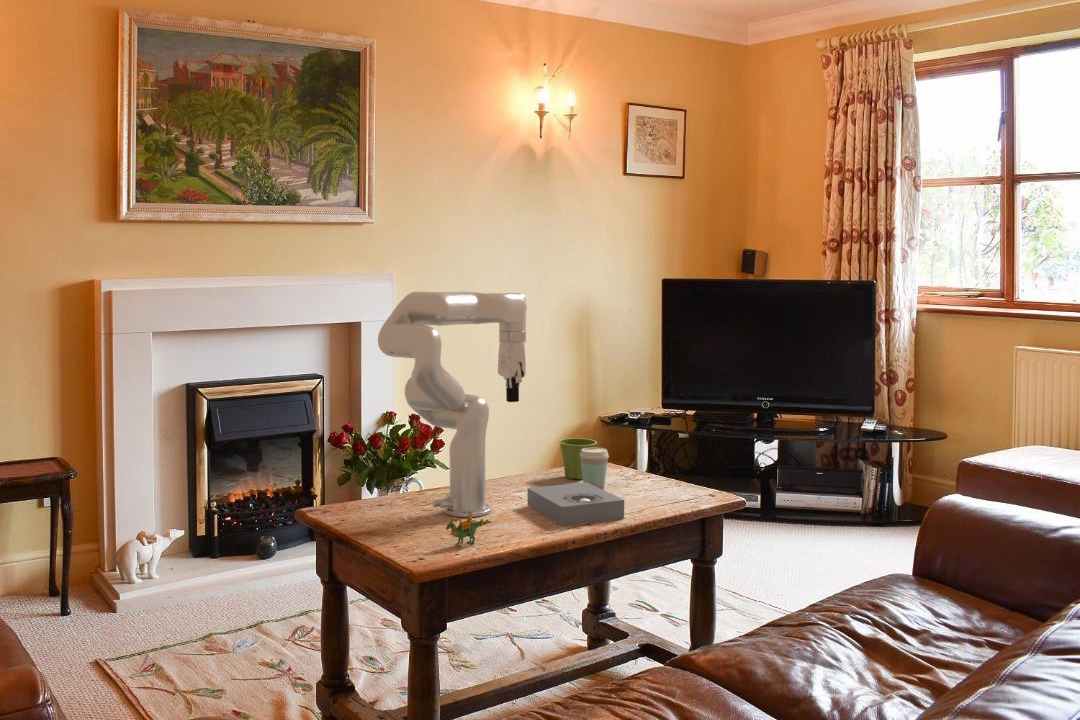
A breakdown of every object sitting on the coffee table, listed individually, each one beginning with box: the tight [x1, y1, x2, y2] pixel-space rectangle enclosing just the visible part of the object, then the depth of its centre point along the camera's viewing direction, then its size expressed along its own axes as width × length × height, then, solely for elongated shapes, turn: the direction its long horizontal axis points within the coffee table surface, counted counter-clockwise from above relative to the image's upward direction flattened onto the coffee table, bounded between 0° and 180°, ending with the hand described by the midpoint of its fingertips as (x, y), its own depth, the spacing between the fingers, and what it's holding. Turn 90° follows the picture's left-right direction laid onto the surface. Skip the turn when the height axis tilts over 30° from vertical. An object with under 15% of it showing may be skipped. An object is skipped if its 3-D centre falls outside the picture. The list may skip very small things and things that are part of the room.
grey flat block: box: [527, 481, 625, 527], centre depth 270 cm, size 18×22×5 cm
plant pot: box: [558, 437, 598, 480], centre depth 311 cm, size 12×12×11 cm
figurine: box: [445, 510, 492, 547], centre depth 241 cm, size 3×12×8 cm, turn 118°
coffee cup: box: [580, 446, 610, 491], centre depth 294 cm, size 8×9×12 cm
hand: (512, 401), depth 286 cm, fingers closed
